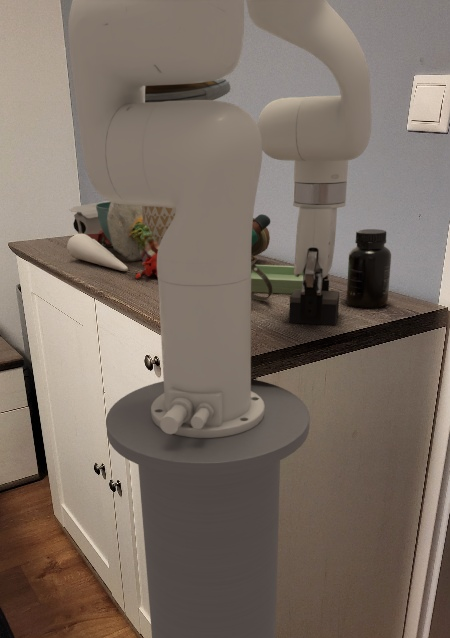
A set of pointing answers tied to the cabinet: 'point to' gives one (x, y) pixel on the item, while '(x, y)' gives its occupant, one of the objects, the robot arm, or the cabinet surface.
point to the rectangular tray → (276, 279)
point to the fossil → (124, 229)
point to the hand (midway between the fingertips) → (314, 311)
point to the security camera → (86, 219)
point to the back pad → (328, 308)
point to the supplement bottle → (369, 270)
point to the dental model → (100, 238)
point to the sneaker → (187, 91)
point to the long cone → (93, 252)
